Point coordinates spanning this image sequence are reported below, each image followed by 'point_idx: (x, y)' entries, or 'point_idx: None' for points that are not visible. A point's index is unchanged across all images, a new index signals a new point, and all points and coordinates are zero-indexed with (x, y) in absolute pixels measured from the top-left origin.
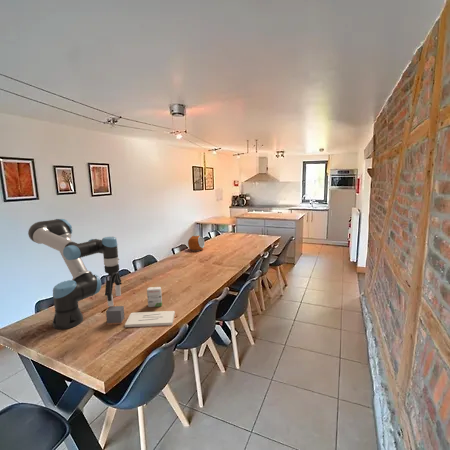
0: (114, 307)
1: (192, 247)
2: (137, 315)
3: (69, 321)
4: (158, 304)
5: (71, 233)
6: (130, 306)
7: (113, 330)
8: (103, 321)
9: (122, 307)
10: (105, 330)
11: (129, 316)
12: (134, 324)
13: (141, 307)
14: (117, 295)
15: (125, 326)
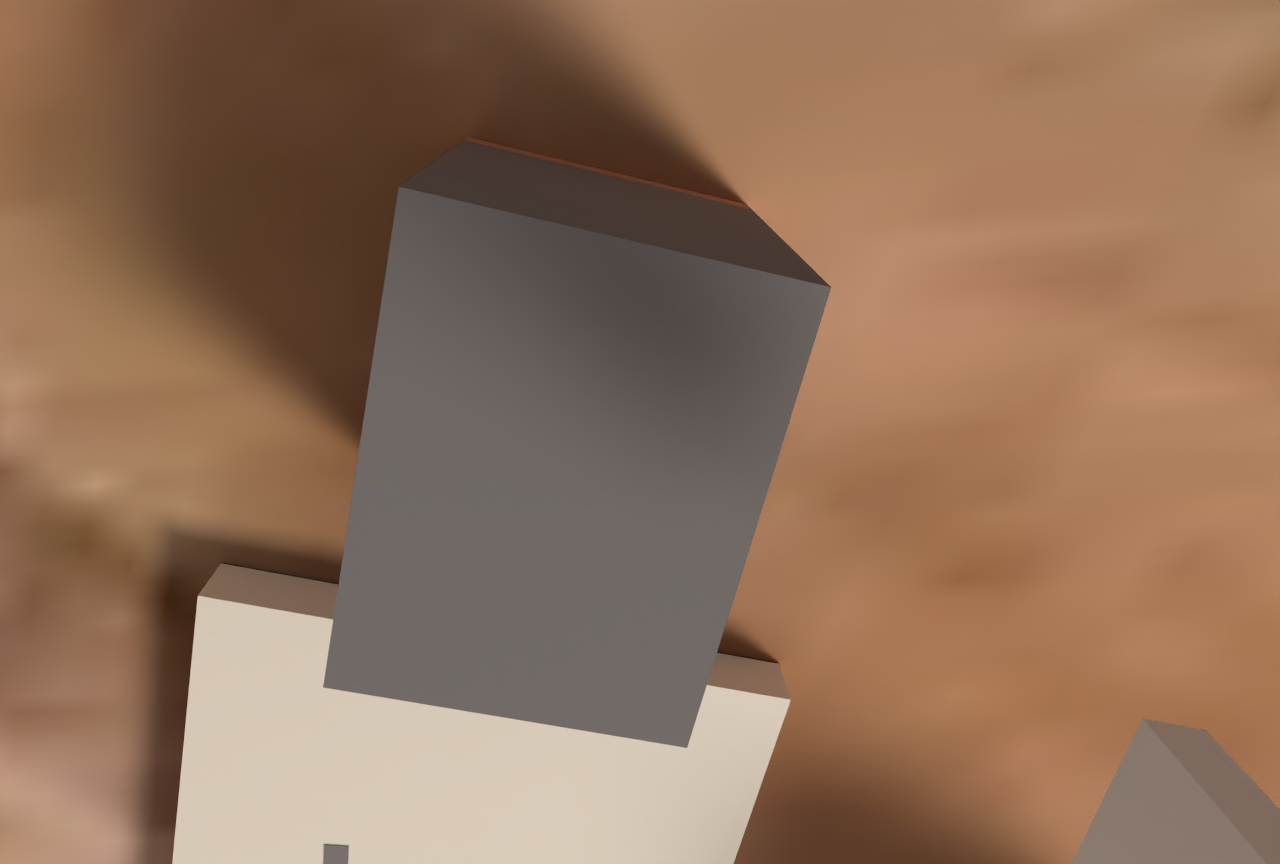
0: (662, 474)
1: None
2: (590, 821)
3: None
4: None
5: None
6: (1250, 622)
7: (108, 327)
8: (674, 14)
9: (568, 724)
10: (138, 127)
11: None
12: (182, 777)
13: (1067, 831)
14: (1123, 804)
15: (212, 583)
